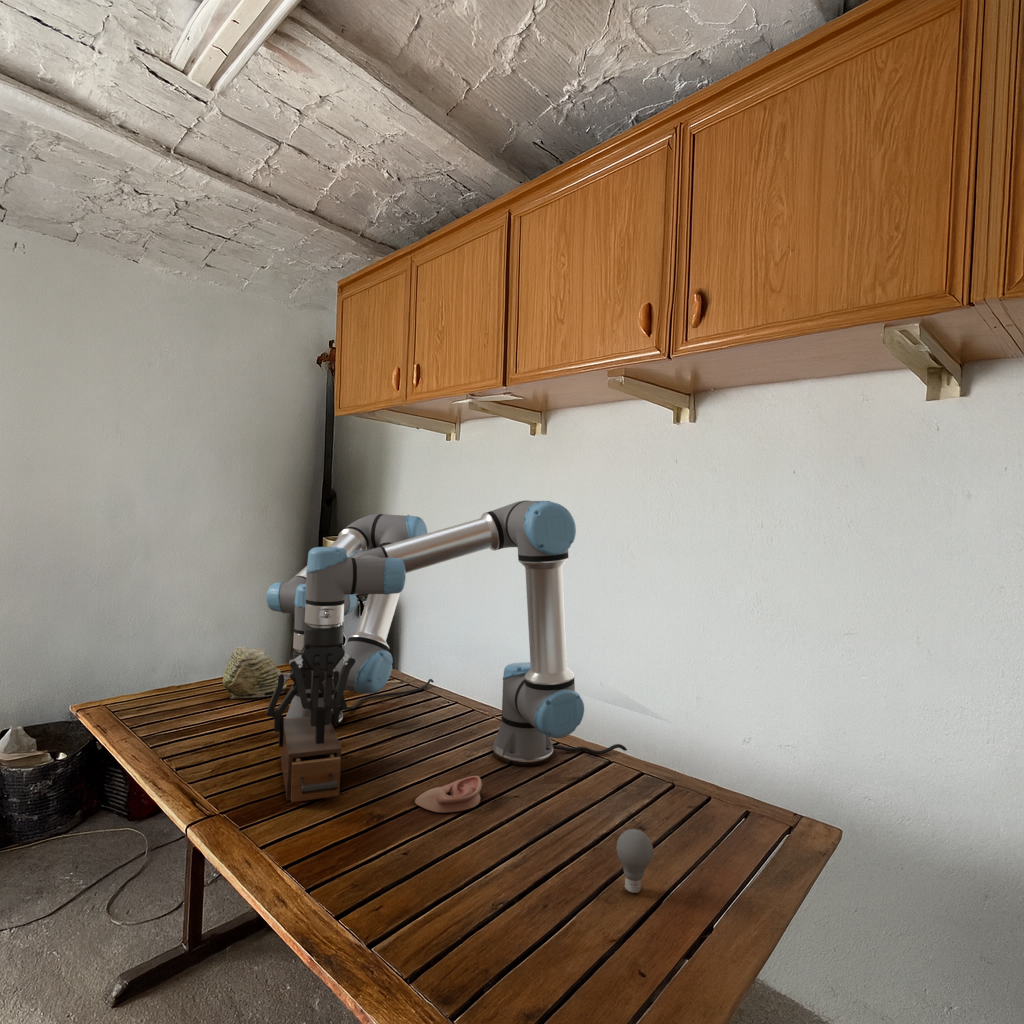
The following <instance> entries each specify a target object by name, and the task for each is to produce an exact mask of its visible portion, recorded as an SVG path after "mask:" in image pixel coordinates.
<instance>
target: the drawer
mask: <svg viewBox="0 0 1024 1024" xmlns="http://www.w3.org/2000/svg"><path fill="white" fill-rule="evenodd" d="M340 762H341V763H342V758H341V759H340V757H334V754H324V755H315V756H307V757H298V758H294V759H293V762H292V782H291V800H290V802H291V803H298V802H304V801H305V802H306V801H311V800H319V799H325V798H326V799H327V798H333V797H339V796H340V793H339V787H340V788H341V772H340Z"/></svg>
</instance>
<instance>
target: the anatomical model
mask: <svg viewBox="0 0 1024 1024" xmlns="http://www.w3.org/2000/svg"><path fill="white" fill-rule="evenodd" d="M482 786H483V783H482V779H481V777H480V776H479V775H471V776H467V777H464V778H461V779H458V780H455V781H452V782H450V783H447V784H445V785H442V786H438V787H433V788H430V789H427V790H425V791H424V792H423V793H421V794H419V795H418V796H417V797H416V798H415V800H414V804H416V805H417V806H418V807H420V808H423V809H425V810H427V811H429V812H433V813H440V814H441V813H443V814H445V813H454V812H463V811H466V810H470V809H472V808H473V809H474V808H475V807H476V806H478V805H480V803H481V793H480V791H481V790H482Z"/></svg>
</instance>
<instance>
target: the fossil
mask: <svg viewBox="0 0 1024 1024" xmlns="http://www.w3.org/2000/svg"><path fill="white" fill-rule="evenodd" d="M279 672H281V669H279V668H278V667H277V665H276V663H275V662H274V660H273V659H272V658H271V657H270V656H269V655H268V654H267V653H266V652H265V650H264V649H263V648H260V647H258V648H251V647H247V646H246V647H245V646H238V647H237V648H236V649H235V650H233V651H232V653H231V656H230V657H229V659H228V660H227V663H226V666H225V668H224V671H223V675H222V676H223V677H222V685H223V687H224V688H225V690H226V691H228V693H229V698H230V699H250V698H264V697H272V695H273V693H274V690H275V688H276V685H277V683H278V673H279ZM287 687H288V686H287V682H286V683H284V686H283V689H282V691H281V694H284V693H285V691H286V689H287Z"/></svg>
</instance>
